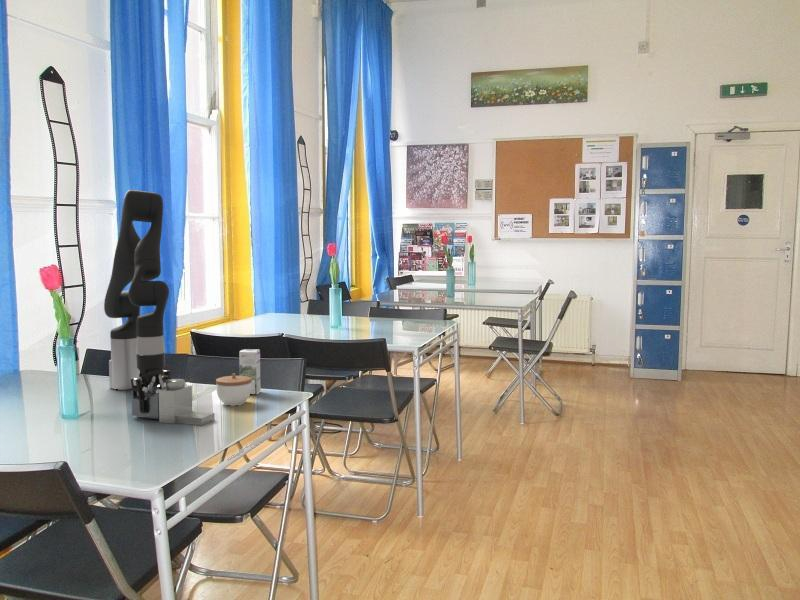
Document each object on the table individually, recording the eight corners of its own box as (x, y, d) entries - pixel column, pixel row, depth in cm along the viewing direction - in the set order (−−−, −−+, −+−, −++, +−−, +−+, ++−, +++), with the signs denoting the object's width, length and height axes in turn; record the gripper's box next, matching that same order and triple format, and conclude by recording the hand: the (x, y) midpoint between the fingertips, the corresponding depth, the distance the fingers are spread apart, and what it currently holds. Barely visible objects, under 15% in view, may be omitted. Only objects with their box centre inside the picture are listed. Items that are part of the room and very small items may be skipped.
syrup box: (261, 391, 225) (260, 348, 224) (256, 395, 219) (256, 351, 218) (244, 391, 225) (243, 348, 224) (239, 395, 219) (238, 351, 218)
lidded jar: (211, 407, 203) (211, 376, 202) (222, 399, 214) (221, 370, 213) (247, 407, 203) (246, 377, 202) (255, 399, 213) (255, 370, 213)
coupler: (129, 419, 189) (128, 380, 188) (149, 412, 197) (148, 375, 196) (199, 426, 182) (198, 386, 181) (216, 419, 189) (215, 380, 188)
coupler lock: (129, 415, 190) (129, 390, 190) (144, 410, 196) (143, 386, 196) (158, 418, 187) (157, 393, 187) (172, 413, 193) (171, 389, 192)
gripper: (156, 347, 198) (158, 403, 199) (121, 354, 185) (123, 415, 186) (178, 348, 196) (179, 405, 197) (143, 356, 182) (145, 417, 183)
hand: (152, 410), depth 191 cm, fingers closed on coupler lock, 6 cm apart
